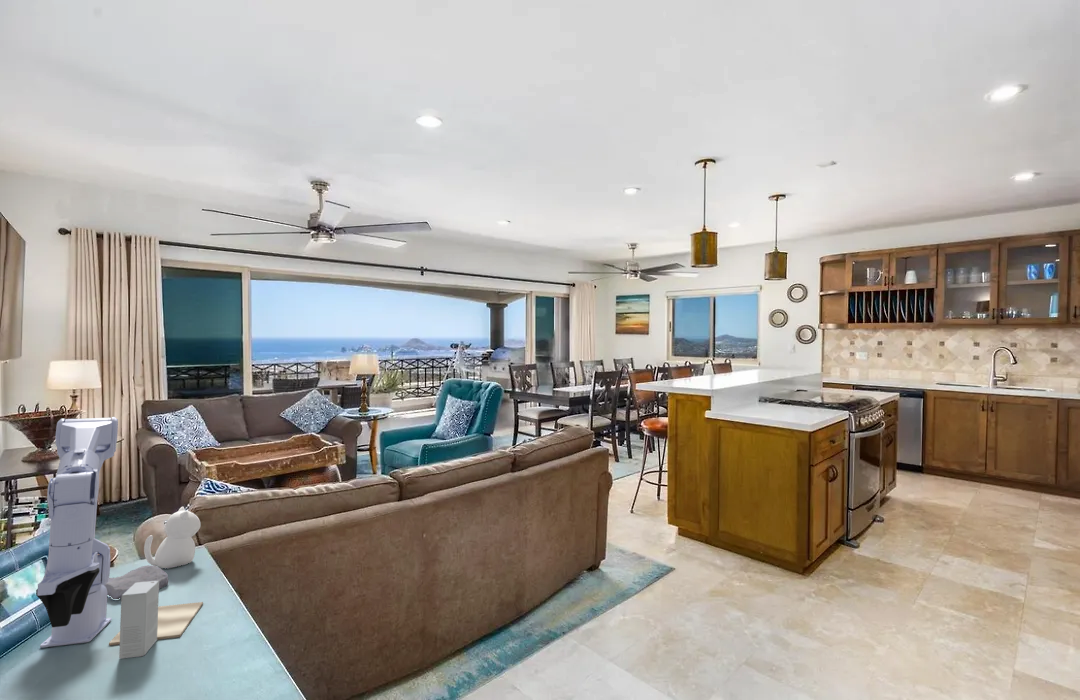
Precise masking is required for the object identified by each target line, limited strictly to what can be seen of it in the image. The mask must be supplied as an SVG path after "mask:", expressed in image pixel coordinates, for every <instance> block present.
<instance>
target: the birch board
mask: <svg viewBox="0 0 1080 700" xmlns="http://www.w3.org/2000/svg"><path fill="white" fill-rule="evenodd" d="M203 604H204V602H203V601H199V602H190V603H180V604H169V605H161V606H159V605H158V629H157V640H156V641H159V640H165V639H174V638H175V639H176V638H180V637H182V635H183V633H184V632H185V630H186V629H187V627H189V625H190V623H191V622H192V621H193V619H194V617H196V615H197V614H198V612H199V610H200V609H201V608H202V607H203ZM114 645H115V646H117V645H120V631H119V632H117V634H116V635H115V636H114V637H113V638H112V639H111V640H109V642H108V646H114Z"/></svg>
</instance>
